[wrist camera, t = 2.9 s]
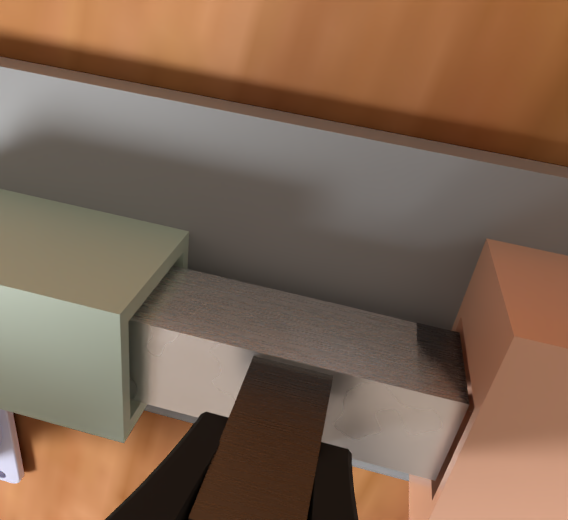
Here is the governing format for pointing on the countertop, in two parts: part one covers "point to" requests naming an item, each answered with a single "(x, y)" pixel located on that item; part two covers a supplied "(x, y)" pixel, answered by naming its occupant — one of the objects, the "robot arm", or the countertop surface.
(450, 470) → the socket block
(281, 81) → the countertop surface
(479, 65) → the countertop surface
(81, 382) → the outer sleeve
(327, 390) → the sliding bolt
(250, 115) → the base board
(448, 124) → the countertop surface
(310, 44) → the countertop surface
